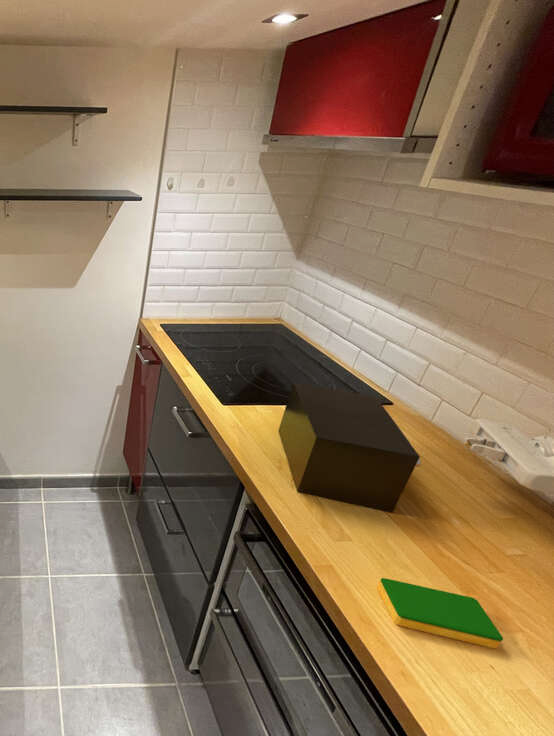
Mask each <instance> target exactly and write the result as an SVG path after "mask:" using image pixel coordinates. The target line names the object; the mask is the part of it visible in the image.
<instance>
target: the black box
mask: <svg viewBox="0 0 554 736" xmlns="http://www.w3.org/2000/svg"><path fill="white" fill-rule="evenodd" d="M284 408H285V409H284V411H283V415H282V418H281V421H280V423H279V426H278V435H279V437H280V441H281V444H282V446H283V447H282V448H283V450H284V451H283V452H284V454H285V457H286V460H287V464H288V466H289V470H290V474H291V476H292V480H293V483H294V486H295V489H296V493H301V494H305V495H309V496H315V497H319V498H322V499H323V498H324V499H328V500H332V501H337V502H342V503H345V504H350V505H355V506H358V507H363V508H369V509H371V510H378V511H381V512H386V513H391V514H393V513H394V511H395V509H396V506H397V505H398V502H399V500H400V498H401V497H402V494H403V492H404V490H405V488H406V486H407V484H408V482H409V480H410V478H411V476H412V474H413V472H414V470H415V468H416V467H417V468H418V467H420V466H421V462H422V460H421V456H420V455H419V454H418V452H417V451H416V449H415V448H414V447H413V446H412V445H413V444H411V442H410V440H409V439H408V438H407V436H406V434H404V432H403V431H402V429H401V428H400V427H399V425H398V424H397V422H396V421H395V420H394V419H393V417H392V416H391V414H390V413H389V412H388V411H387V409H386V408H385V407H384V406H383V404H382V402H381V401H380V399H378V397H377V396H376V395H371V394H364V393H359V392H353V391H346V390H340V389H333V388H328V387H321V386H314V385H308V384H303V383H295V382H293V383H292V386H291V389H290V391H289V395H288V399H287V402H286V405H285V407H284Z"/></svg>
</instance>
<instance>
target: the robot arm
mask: <svg viewBox="0 0 554 736" xmlns="http://www.w3.org/2000/svg"><path fill="white" fill-rule="evenodd" d="M469 431H470V433H471V434H472V435H473V436H474V437H470V436H469V437H466V438H465V440H464V441H463V443H464V445H465V446H466V447H467V448H468V449H469V450H470V452H472V453H476V454H480V455H483V456H485V457H487V458H490V459H493V460H496V461H498V462H499V464H500V465H501V466H503V468H504V469H505V470H506V471H507V472H508V473H509V474H510V475H511V477H513V478H514V479H515V481H517V483H518V484H520V486H522V487H524V488H527V489H529V490H531V491H535V492H540V493H545V494H550V495H554V437H553V436H547V435H539V436H535V437H533V439H532V438H531V437H530V436H529V435H527V433H525V432H524V430H522V429H520V428H519V427H518V426H516V425H514V424H511V423H506V422H503V421H498V420H493V419H489V418H483V417H478V418H475V419H474V420H473V422H472V423H471V425H470V427H469Z"/></svg>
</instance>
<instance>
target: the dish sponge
mask: <svg viewBox="0 0 554 736" xmlns="http://www.w3.org/2000/svg"><path fill="white" fill-rule="evenodd" d="M376 588H377V590H378V593H379V594H380V597H381V599H382V601H383V603H384V605H385V608H386V609H387V612H388V613H389V615H390V617H391V620H392V621H393V623H394V624H396V626H400V627H405V628H409V629H413V630H417V631H420V632H421V631H422V632H425V633H429V634H433V635H437V636H442V637H446V638H449V639H454V640H459V641H463V642H465V643H466V642H467V643H471V644H475V645H479V646H483V647H486V648H487V647H488V648H491V649H497V648H498V647H499V645H500V644H501V642H502V641H503V640H504V637H503V635H502V634H501V633H500V631H499V629H498V627H496V625H495V624H494V622H493V621H492V619H491V618H490V616H489V615H488V614H487V613H486V611H485V609H484V608H483V607H482V605H481V603H480V602H479V601H478V599H476V598H474V597H473V596H467V595H464V594H463V595H462V594H458V593H453V592H449V591H445V590H440V589H436V588H432V587H428V586H427V587H426V586H422V585H417V584H412V583H408V582H403V581H401V580H400V581H399V580H394V579H389V578H386V577H382V578H380V580H379V582H378V584H377V586H376Z"/></svg>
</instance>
